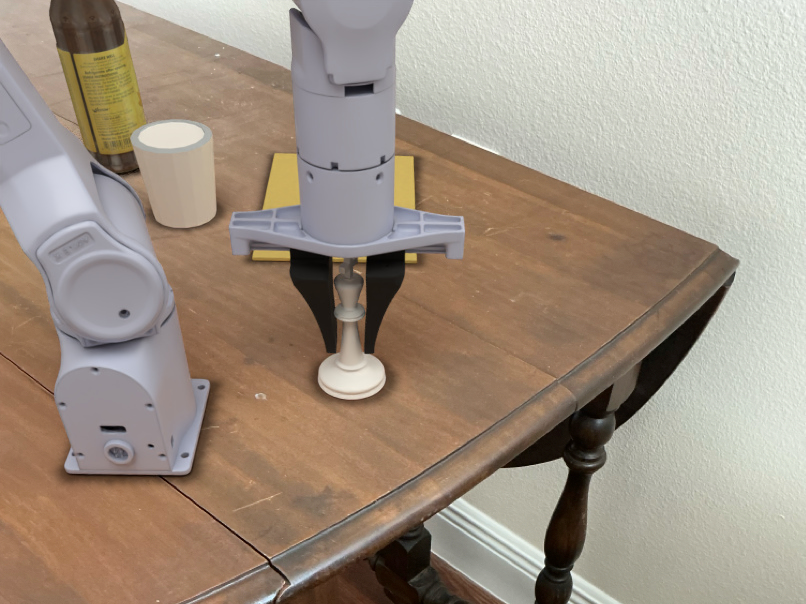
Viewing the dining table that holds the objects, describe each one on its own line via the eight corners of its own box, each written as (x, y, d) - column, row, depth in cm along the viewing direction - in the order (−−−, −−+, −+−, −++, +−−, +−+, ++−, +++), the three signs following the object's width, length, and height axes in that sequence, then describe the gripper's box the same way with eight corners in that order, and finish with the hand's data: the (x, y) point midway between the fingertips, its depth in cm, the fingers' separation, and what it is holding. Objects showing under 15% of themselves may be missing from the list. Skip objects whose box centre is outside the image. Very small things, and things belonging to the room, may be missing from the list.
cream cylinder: (207, 235, 74) (195, 156, 69) (134, 226, 75) (116, 146, 70) (233, 199, 79) (223, 122, 73) (164, 191, 79) (149, 113, 74)
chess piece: (304, 386, 60) (294, 259, 53) (339, 350, 63) (334, 225, 56) (364, 408, 59) (362, 281, 52) (397, 370, 62) (400, 245, 54)
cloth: (416, 263, 72) (416, 260, 72) (252, 260, 72) (252, 257, 71) (413, 158, 85) (413, 155, 85) (274, 155, 85) (274, 152, 85)
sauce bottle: (166, 155, 84) (120, -87, 69) (128, 181, 80) (72, -70, 66) (112, 142, 86) (57, -97, 71) (73, 168, 82) (6, -80, 67)
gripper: (466, 123, 52) (451, 314, 62) (229, 118, 51) (253, 311, 62) (473, 176, 47) (456, 373, 57) (212, 171, 47) (242, 370, 57)
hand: (351, 345), depth 59 cm, fingers closed on chess piece
